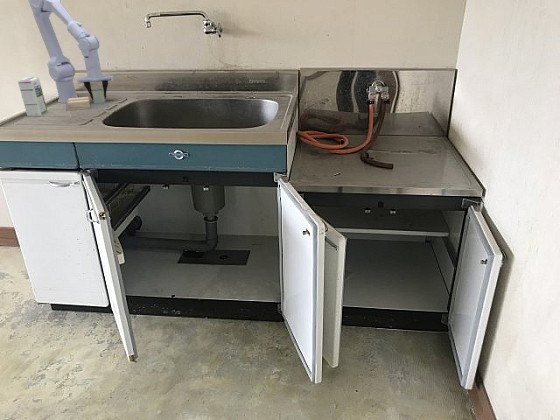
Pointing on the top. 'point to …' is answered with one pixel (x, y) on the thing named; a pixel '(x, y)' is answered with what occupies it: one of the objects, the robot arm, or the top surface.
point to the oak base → (78, 103)
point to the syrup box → (32, 96)
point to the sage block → (98, 95)
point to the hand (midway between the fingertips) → (99, 99)
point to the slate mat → (92, 105)
